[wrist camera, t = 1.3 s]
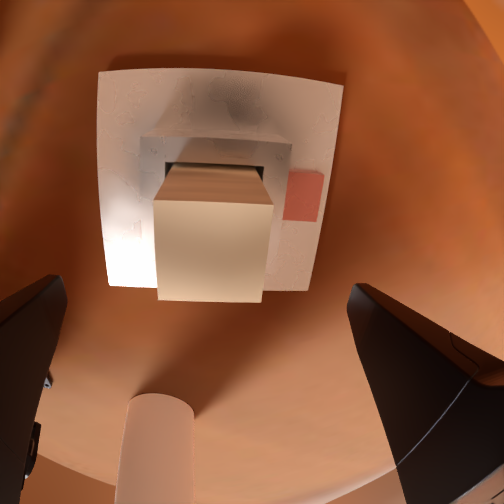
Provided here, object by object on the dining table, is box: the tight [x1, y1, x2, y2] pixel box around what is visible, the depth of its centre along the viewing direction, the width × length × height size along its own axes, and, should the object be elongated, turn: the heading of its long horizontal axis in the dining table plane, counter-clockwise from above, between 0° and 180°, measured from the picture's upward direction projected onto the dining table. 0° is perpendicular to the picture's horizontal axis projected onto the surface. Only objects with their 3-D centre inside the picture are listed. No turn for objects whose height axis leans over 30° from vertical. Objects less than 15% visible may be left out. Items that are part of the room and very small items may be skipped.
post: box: [153, 162, 274, 303], centre depth 15 cm, size 4×4×8 cm
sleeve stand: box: [97, 68, 343, 291], centre depth 17 cm, size 14×14×4 cm
